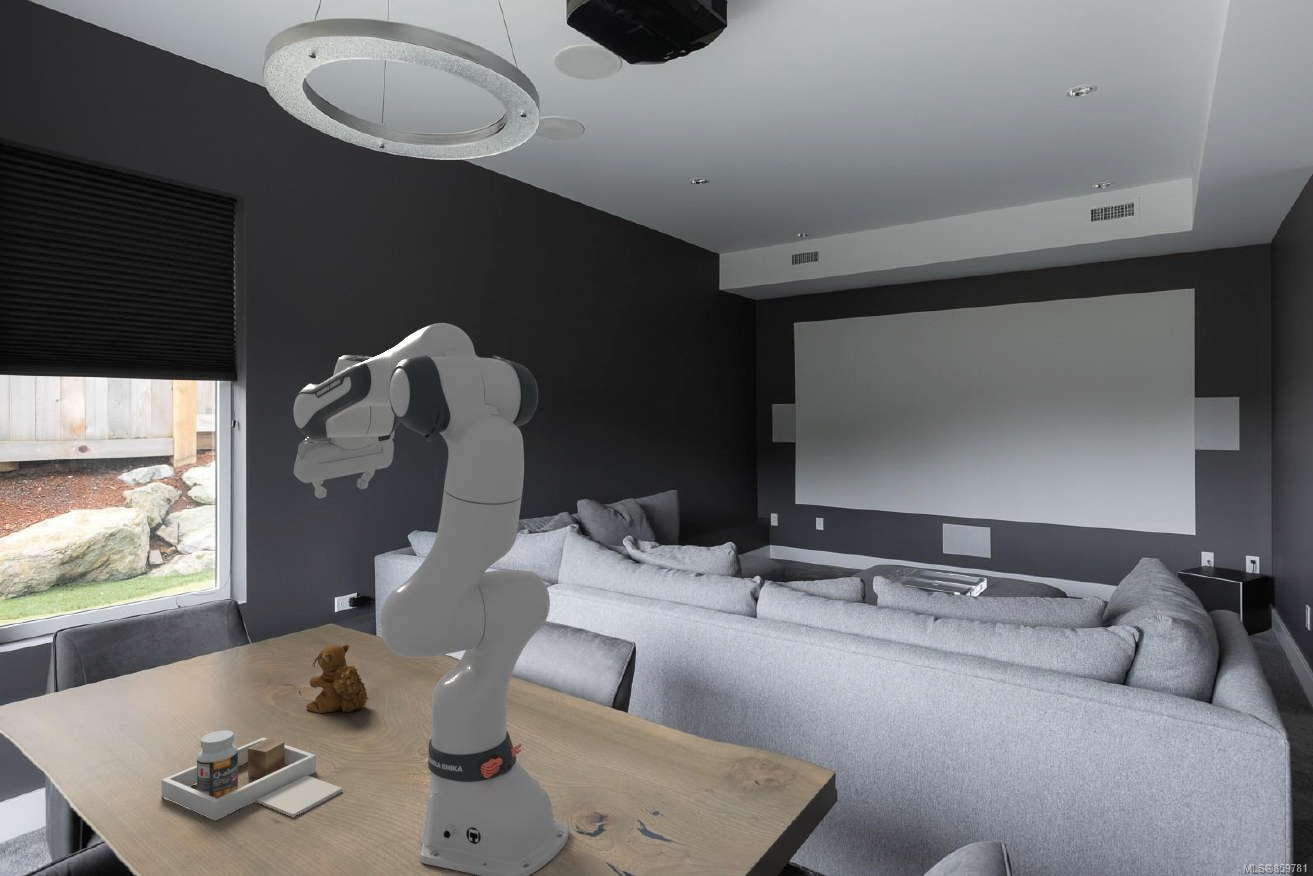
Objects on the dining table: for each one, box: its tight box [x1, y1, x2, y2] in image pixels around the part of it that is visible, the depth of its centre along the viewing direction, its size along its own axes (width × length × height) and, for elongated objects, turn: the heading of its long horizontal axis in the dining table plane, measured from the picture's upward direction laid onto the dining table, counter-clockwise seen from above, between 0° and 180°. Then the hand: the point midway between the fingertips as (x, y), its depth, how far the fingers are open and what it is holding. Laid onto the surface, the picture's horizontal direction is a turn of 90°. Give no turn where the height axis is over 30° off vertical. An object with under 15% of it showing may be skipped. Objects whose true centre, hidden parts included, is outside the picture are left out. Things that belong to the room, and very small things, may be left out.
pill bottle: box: [196, 729, 239, 799], centre depth 118 cm, size 6×6×10 cm
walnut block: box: [247, 738, 286, 779], centre depth 126 cm, size 4×4×5 cm
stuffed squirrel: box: [305, 644, 370, 714], centre depth 154 cm, size 10×14×13 cm
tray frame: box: [161, 737, 317, 821], centre depth 122 cm, size 15×18×3 cm
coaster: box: [256, 775, 343, 818], centre depth 118 cm, size 9×9×1 cm
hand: (341, 491), depth 149 cm, fingers open, 8 cm apart
